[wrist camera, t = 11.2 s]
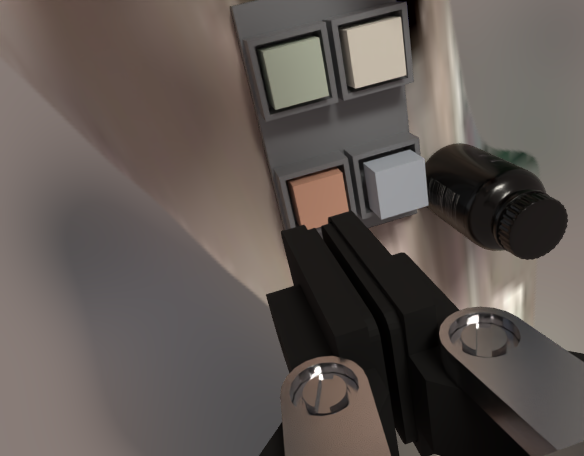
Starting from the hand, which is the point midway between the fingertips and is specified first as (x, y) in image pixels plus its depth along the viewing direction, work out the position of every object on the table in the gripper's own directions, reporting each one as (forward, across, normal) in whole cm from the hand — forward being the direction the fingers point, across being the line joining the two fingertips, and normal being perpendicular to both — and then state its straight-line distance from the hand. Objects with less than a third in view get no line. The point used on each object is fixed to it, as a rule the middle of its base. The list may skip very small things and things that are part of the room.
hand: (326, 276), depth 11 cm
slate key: (+26, -11, +10) cm, 30 cm away
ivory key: (+28, -12, 0) cm, 30 cm away
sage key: (+28, -6, 0) cm, 28 cm away
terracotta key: (+28, -6, +10) cm, 30 cm away
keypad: (+29, -8, +5) cm, 31 cm away
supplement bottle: (+29, -19, +13) cm, 37 cm away
